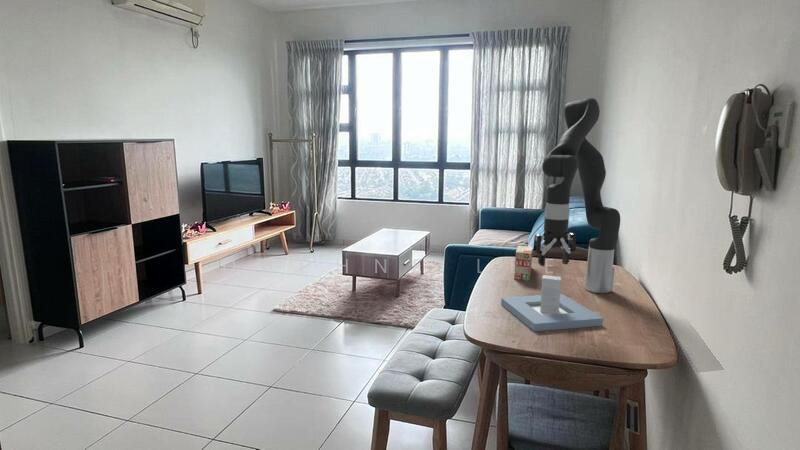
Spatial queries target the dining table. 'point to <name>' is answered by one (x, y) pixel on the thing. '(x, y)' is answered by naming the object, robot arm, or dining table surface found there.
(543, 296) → the skincare box
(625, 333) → the dining table surface
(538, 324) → the base board
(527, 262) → the stack of blocks
